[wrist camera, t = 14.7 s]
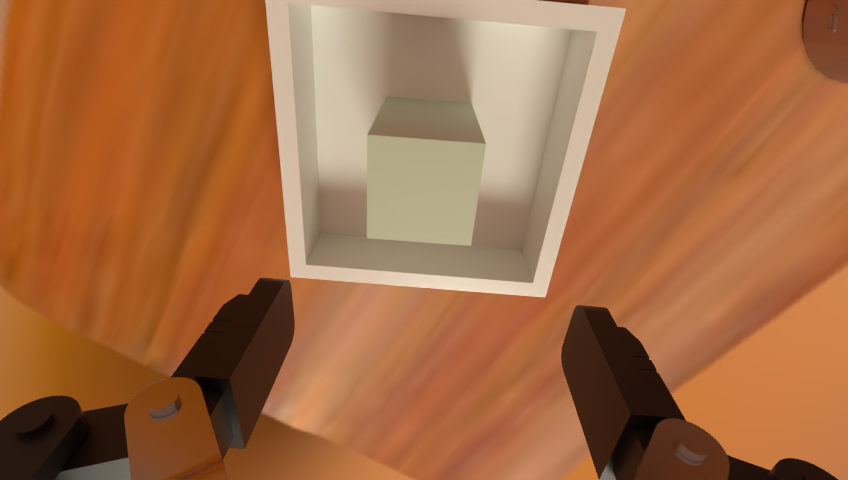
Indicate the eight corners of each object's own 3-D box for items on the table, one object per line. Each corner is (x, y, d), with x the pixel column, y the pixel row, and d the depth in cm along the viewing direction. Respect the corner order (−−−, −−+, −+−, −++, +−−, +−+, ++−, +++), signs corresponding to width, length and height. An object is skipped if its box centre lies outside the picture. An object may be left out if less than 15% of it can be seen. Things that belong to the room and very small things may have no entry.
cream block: (471, 103, 25) (486, 143, 18) (461, 182, 27) (471, 246, 20) (386, 96, 25) (367, 134, 18) (384, 177, 27) (366, 238, 20)
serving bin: (590, 6, 23) (626, 8, 19) (529, 255, 31) (545, 297, 27) (296, -21, 23) (262, -26, 18) (311, 237, 31) (290, 276, 26)
